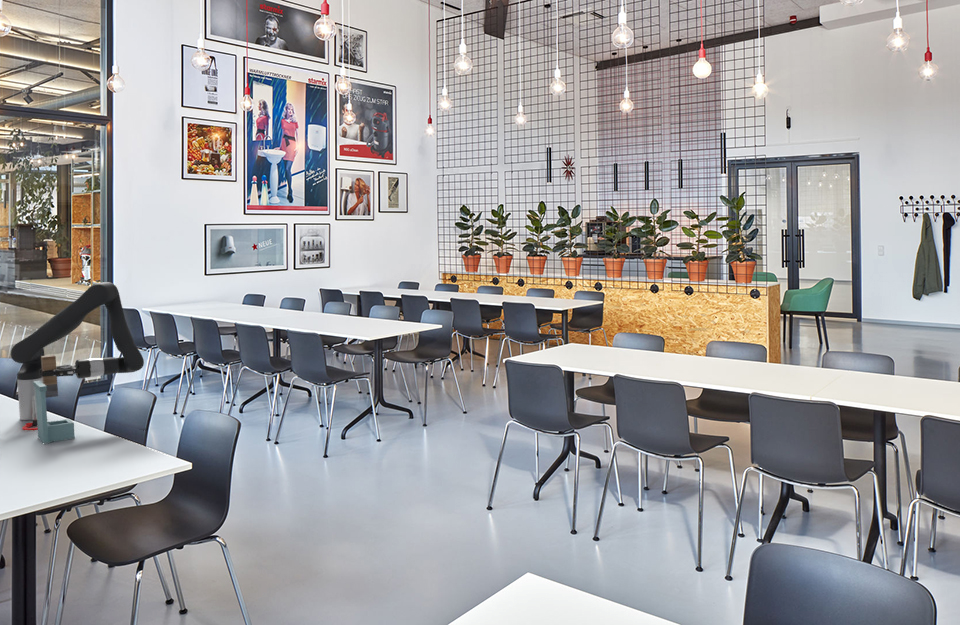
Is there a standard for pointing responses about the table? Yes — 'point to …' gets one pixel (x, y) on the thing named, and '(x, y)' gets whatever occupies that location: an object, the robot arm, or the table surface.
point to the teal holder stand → (52, 428)
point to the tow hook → (34, 420)
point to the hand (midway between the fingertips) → (41, 373)
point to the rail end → (49, 381)
